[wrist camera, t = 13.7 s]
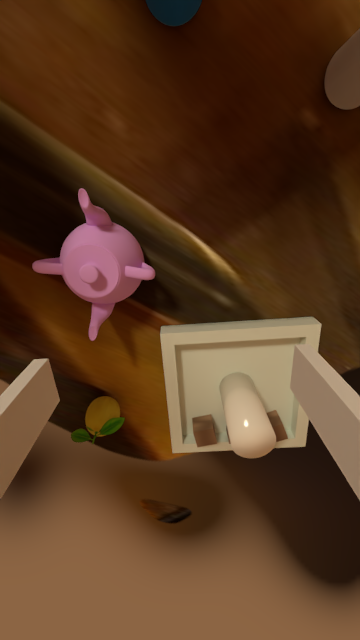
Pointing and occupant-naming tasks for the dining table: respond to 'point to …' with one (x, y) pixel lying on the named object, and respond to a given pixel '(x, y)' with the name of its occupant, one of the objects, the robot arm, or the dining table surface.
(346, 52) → the beverage can
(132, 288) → the teapot
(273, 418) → the walnut cube
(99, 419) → the lemon
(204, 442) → the walnut cube
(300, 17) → the dining table surface
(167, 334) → the tray
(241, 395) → the white rounded tapered cylinder
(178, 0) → the beverage can
